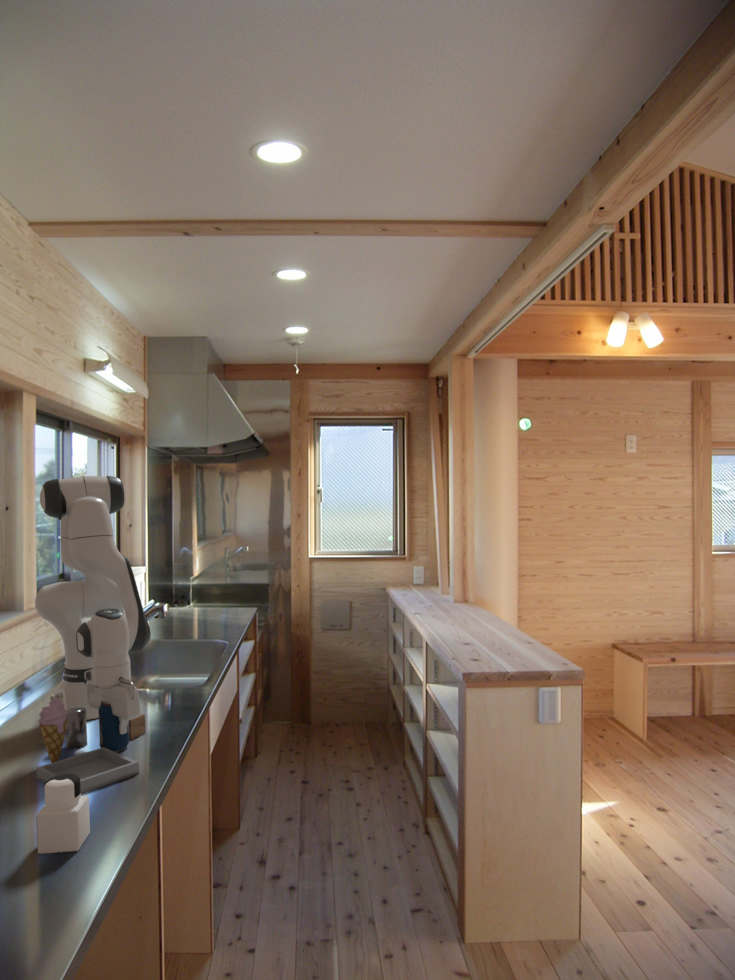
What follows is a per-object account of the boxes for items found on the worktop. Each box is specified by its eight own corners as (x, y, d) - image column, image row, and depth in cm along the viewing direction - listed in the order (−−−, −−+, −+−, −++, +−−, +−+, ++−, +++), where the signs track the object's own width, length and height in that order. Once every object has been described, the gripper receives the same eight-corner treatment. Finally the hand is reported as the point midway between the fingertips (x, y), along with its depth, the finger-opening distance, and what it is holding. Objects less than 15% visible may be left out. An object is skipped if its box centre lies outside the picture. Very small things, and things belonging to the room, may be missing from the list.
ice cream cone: (76, 760, 173) (74, 697, 173) (57, 770, 167) (55, 705, 167) (54, 757, 175) (52, 696, 175) (34, 767, 169) (32, 703, 169)
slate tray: (36, 779, 162) (36, 767, 162) (104, 757, 173) (103, 747, 173) (70, 797, 151) (69, 785, 151) (138, 773, 163) (138, 762, 163)
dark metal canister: (62, 746, 183) (61, 711, 183) (81, 741, 186) (80, 706, 186) (71, 750, 179) (70, 714, 179) (90, 745, 183) (89, 709, 183)
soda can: (135, 745, 181) (133, 697, 181) (115, 754, 175) (113, 705, 175) (114, 742, 184) (112, 695, 184) (93, 751, 178) (92, 703, 178)
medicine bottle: (51, 835, 134) (49, 771, 134) (90, 832, 134) (88, 768, 135) (37, 854, 127) (34, 786, 127) (78, 851, 127) (76, 784, 127)
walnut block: (117, 737, 189) (116, 718, 189) (131, 731, 193) (131, 712, 193) (131, 739, 186) (130, 720, 186) (145, 733, 191) (144, 714, 191)
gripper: (145, 678, 175) (147, 734, 175) (104, 666, 189) (106, 719, 189) (121, 683, 170) (123, 742, 170) (80, 671, 184) (82, 725, 184)
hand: (114, 730), depth 180 cm, fingers closed on soda can, 7 cm apart
